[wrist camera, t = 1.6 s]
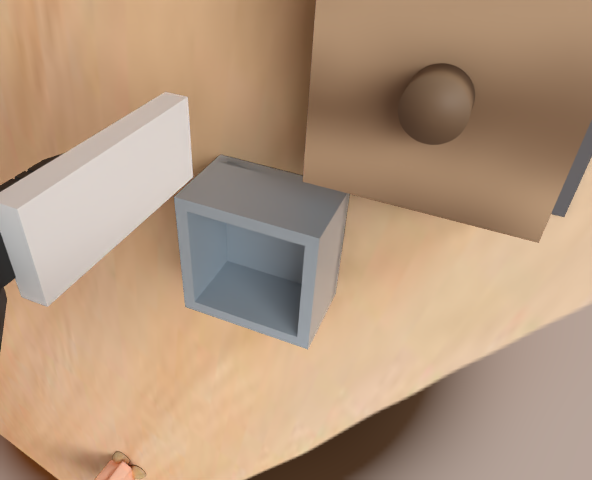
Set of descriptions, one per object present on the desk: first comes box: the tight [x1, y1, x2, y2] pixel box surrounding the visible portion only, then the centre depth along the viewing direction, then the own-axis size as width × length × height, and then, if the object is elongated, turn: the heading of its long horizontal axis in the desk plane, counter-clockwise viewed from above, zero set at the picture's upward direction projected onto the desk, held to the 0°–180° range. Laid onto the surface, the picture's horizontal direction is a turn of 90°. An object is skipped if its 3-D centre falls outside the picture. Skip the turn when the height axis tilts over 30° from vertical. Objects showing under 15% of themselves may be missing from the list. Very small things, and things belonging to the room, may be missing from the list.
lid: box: [303, 0, 592, 243], centre depth 20 cm, size 10×10×6 cm
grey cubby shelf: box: [174, 155, 350, 349], centre depth 31 cm, size 8×8×5 cm
